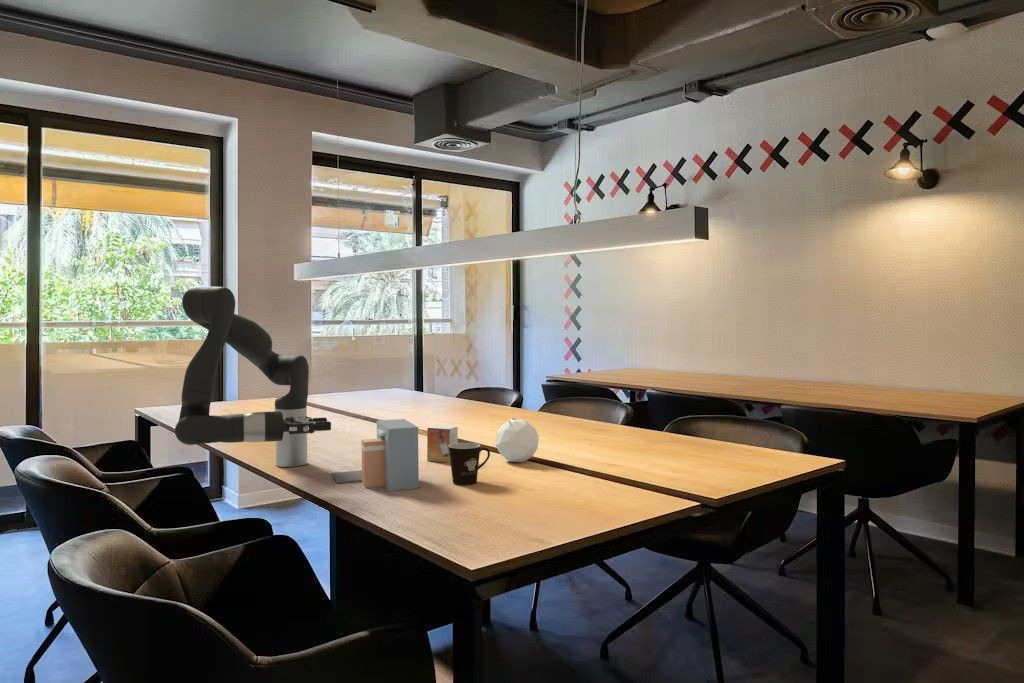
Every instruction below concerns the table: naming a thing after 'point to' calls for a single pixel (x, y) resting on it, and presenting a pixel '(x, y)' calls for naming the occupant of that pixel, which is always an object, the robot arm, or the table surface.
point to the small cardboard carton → (373, 462)
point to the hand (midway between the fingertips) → (328, 423)
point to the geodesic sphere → (517, 440)
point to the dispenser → (400, 453)
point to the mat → (348, 476)
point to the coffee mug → (465, 462)
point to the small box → (440, 442)
